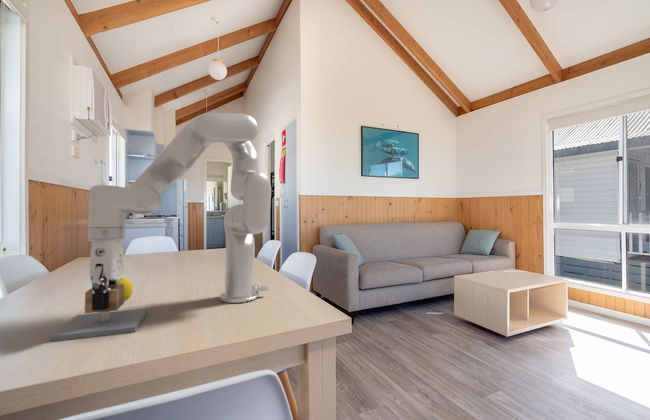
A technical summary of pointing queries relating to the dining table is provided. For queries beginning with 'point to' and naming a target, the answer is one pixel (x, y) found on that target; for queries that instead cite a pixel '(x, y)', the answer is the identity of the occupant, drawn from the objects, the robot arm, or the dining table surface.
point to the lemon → (126, 288)
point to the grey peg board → (100, 324)
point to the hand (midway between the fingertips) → (105, 304)
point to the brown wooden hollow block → (114, 299)
